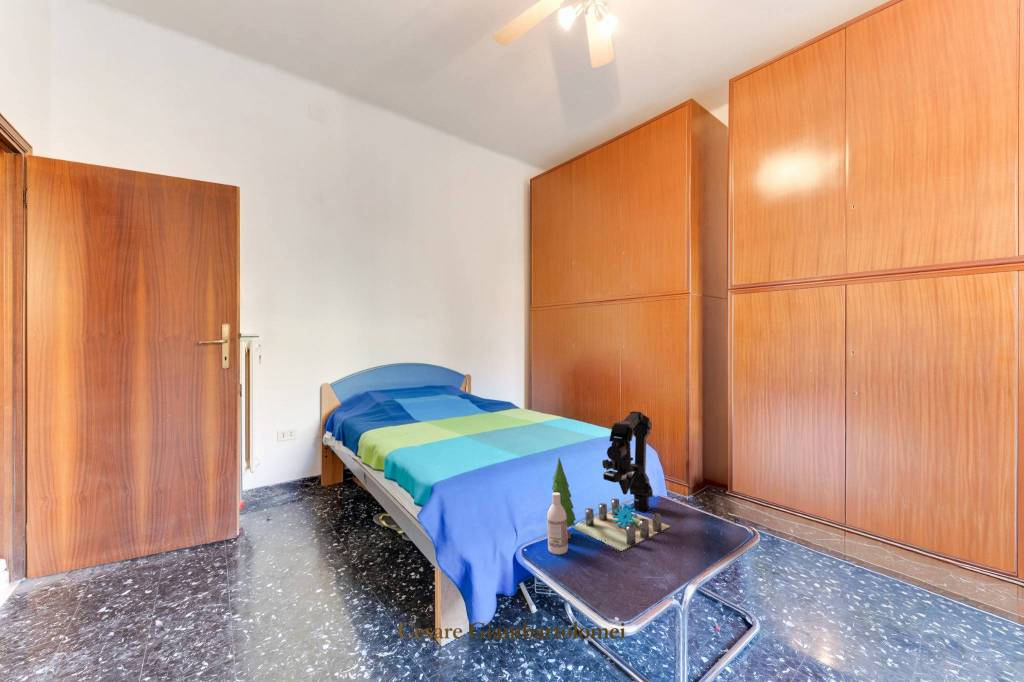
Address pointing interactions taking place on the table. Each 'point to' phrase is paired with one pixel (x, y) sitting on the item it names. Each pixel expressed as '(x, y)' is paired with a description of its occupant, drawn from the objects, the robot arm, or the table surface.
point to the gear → (625, 516)
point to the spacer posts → (629, 528)
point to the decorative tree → (564, 494)
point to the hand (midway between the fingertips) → (624, 494)
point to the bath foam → (557, 526)
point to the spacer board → (615, 531)
